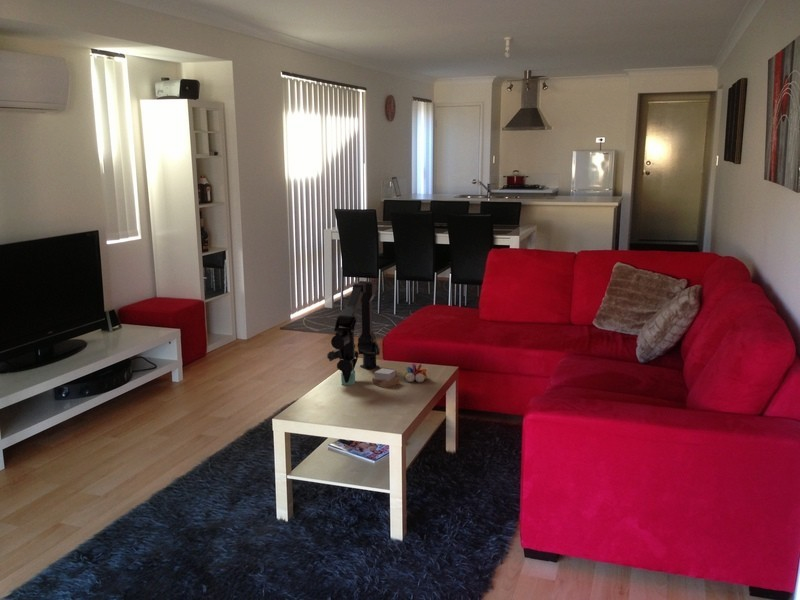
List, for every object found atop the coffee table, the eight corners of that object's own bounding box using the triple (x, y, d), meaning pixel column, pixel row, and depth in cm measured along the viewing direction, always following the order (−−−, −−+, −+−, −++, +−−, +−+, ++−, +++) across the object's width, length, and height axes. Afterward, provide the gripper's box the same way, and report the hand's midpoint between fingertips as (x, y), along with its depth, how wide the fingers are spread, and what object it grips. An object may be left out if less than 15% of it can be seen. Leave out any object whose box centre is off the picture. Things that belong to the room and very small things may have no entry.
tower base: (372, 385, 294) (372, 378, 294) (386, 380, 300) (386, 374, 299) (385, 389, 289) (385, 382, 288) (399, 384, 294) (399, 378, 294)
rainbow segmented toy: (426, 383, 294) (425, 367, 293) (403, 382, 296) (402, 366, 294) (428, 377, 302) (428, 361, 301) (406, 377, 304) (406, 360, 302)
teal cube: (341, 385, 294) (341, 373, 293) (343, 381, 299) (343, 370, 298) (353, 385, 293) (353, 373, 292) (355, 381, 298) (355, 370, 297)
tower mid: (374, 379, 293) (374, 372, 292) (381, 375, 298) (381, 368, 298) (388, 381, 290) (388, 374, 289) (395, 377, 295) (395, 370, 295)
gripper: (332, 337, 303) (333, 372, 305) (324, 348, 284) (325, 385, 287) (358, 338, 302) (358, 373, 304) (351, 349, 283) (352, 386, 286)
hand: (348, 379), depth 296 cm, fingers open, 9 cm apart
